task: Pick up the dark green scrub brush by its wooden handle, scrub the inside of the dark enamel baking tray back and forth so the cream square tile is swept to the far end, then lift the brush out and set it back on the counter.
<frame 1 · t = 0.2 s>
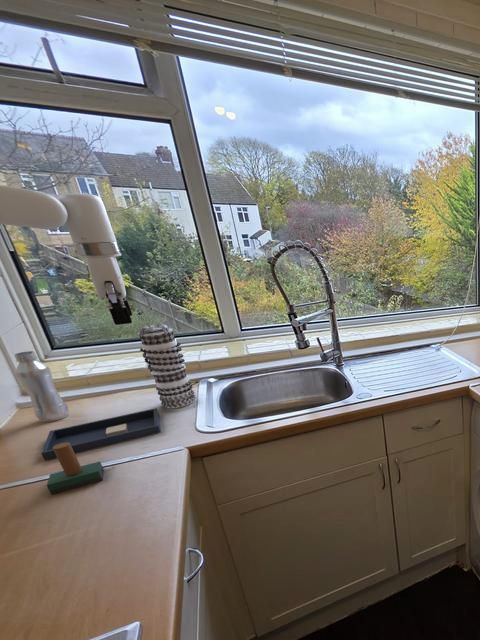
hand: (124, 319, 104), 30 cm above the worktop, tool pointing down, fingers open, 9 cm apart
black white patterned cylinder: (180, 405, 126), on the worktop
cream square tile: (117, 432, 109), point 1 cm above the worktop, touching tray
tray: (108, 436, 108), on the worktop
plastic bottle: (56, 419, 116), on the worktop
brush: (79, 481, 90), on the worktop
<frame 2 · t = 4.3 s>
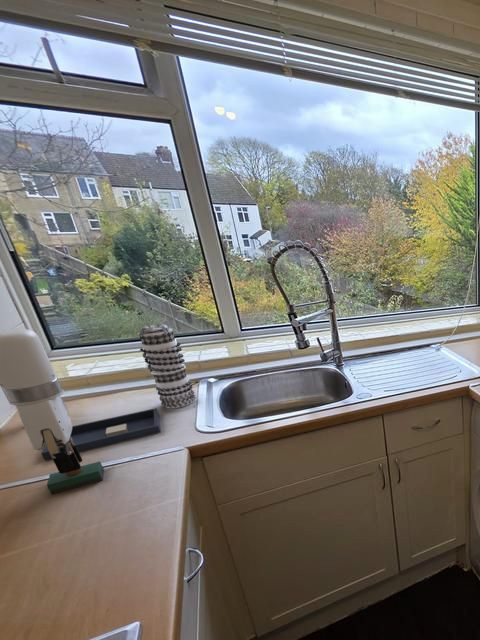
hand: (71, 466, 89), 4 cm above the worktop, tool pointing down, fingers closed on brush, 2 cm apart
brush: (79, 481, 90), on the worktop, touching gripper
everything else where it was.
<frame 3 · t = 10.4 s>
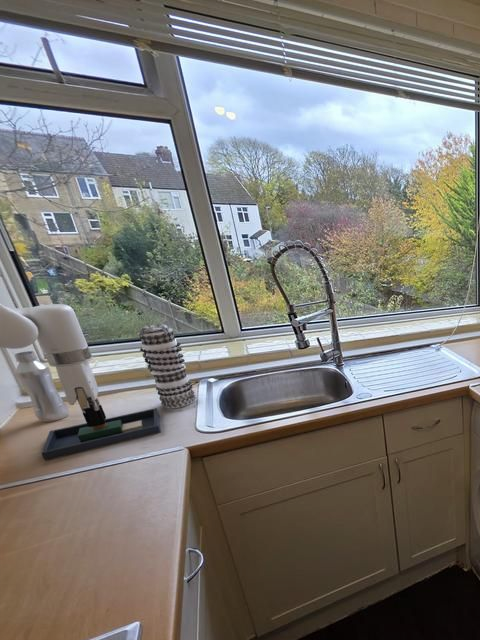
hand: (97, 422, 106), 5 cm above the worktop, tool pointing down, fingers closed on brush, 2 cm apart
cream square tile: (133, 428, 111), point 1 cm above the worktop, touching brush, tray
brush: (103, 435, 107), point 1 cm above the worktop, touching cream square tile, gripper, tray
everything else where it was.
when the fingers open (4 cm above the worktop, at t = 19.5 s): brush stays where it is, on the worktop.
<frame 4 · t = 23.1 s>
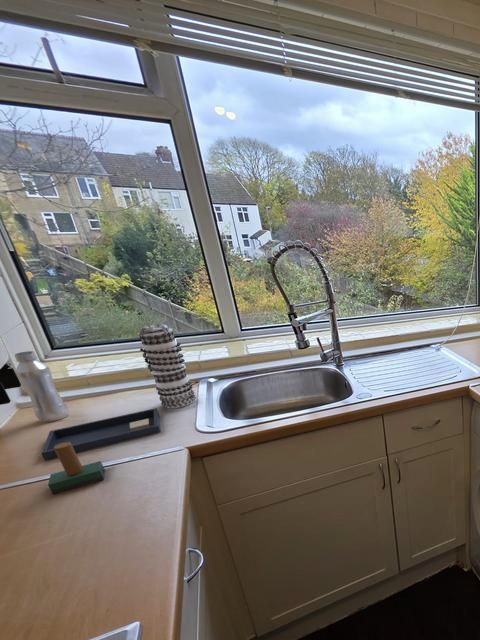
hand: (4, 396, 79), 22 cm above the worktop, tool pointing down, fingers open, 9 cm apart
cream square tile: (140, 427, 112), point 1 cm above the worktop, touching tray
brush: (80, 481, 90), on the worktop
everything else where it was.
at the end: cream square tile inside the target area in the tray (0.5 cm from its centre), point 0.6 cm above the tray's base; brush inside the target area (0.5 cm from its centre), on the worktop; the gripper is holding nothing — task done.
